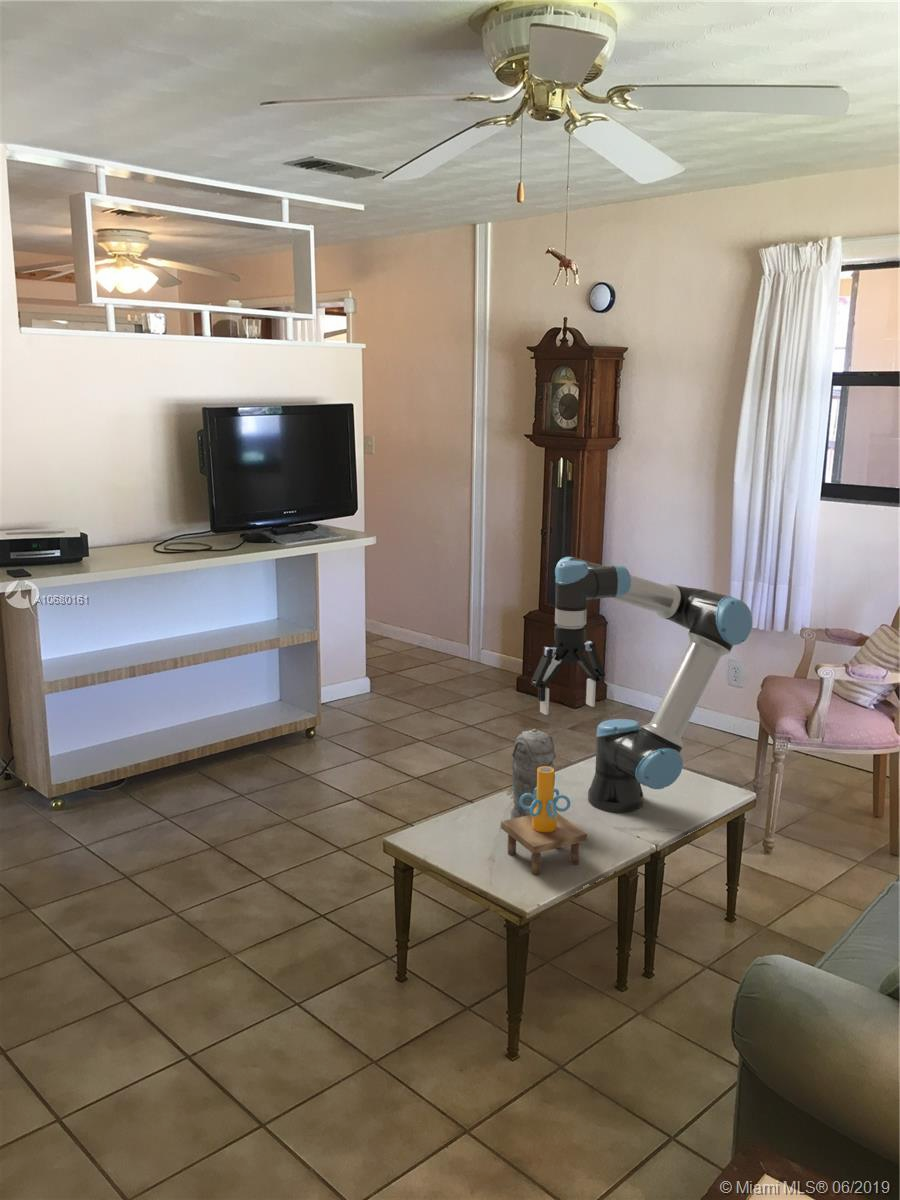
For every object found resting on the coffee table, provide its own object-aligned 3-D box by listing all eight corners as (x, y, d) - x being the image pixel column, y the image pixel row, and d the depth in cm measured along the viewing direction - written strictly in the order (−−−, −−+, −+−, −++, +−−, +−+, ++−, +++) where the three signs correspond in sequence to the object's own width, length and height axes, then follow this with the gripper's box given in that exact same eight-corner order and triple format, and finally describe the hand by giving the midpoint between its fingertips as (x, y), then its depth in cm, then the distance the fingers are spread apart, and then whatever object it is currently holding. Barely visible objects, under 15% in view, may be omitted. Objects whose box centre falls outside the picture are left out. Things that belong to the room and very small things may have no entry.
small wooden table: (551, 839, 244) (552, 809, 242) (586, 864, 231) (587, 833, 229) (500, 851, 237) (501, 821, 235) (533, 878, 224) (533, 847, 222)
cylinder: (539, 813, 240) (541, 756, 237) (575, 825, 233) (577, 767, 230) (511, 830, 231) (512, 771, 227) (548, 842, 224) (550, 782, 221)
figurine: (527, 805, 264) (529, 718, 258) (562, 823, 252) (565, 733, 247) (499, 813, 258) (501, 725, 253) (534, 833, 247) (536, 741, 241)
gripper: (603, 616, 240) (600, 697, 245) (517, 627, 229) (516, 712, 234) (621, 623, 234) (617, 706, 238) (534, 634, 223) (532, 721, 227)
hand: (567, 709), depth 236 cm, fingers open, 13 cm apart
